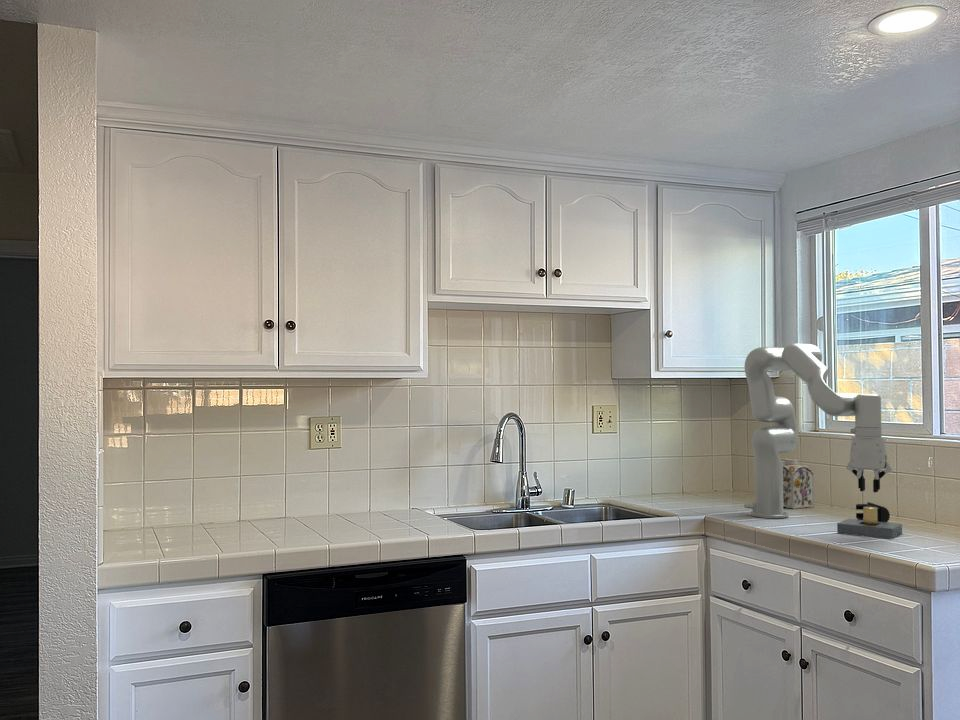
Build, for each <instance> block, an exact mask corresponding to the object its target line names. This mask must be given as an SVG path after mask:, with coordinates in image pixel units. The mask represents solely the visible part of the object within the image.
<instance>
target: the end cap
mask: <svg viewBox="0 0 960 720" xmlns="http://www.w3.org/2000/svg"><path fill="white" fill-rule="evenodd" d="M863 507H875V508H877V521H879V522H889V520H890V519H891V516H890V515H891V514H890V511H889V509H888V508H886V507H885V506H882V505H880V504H876V503H874V502H873V503H872V502H868V501H867V502H866V503H857V504H856V505H855V510H856V511H857V510H859V511H861V510H863ZM855 517H856V518H855V519H858V520H863V512H856V513H855Z"/></svg>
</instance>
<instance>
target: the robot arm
mask: <svg viewBox="0 0 960 720" xmlns="http://www.w3.org/2000/svg"><path fill="white" fill-rule="evenodd" d="M822 360H823V353H822V351H821V350H820V348H819V347H818V346H816V345H814V344H812V343H791V344H788V345H786V346H785V347H781V346H780V347H779V346H778V347H777V346H775V347H774V346H761V347H760V346H759V347H757V348H754V349H753V350H751V351H750V352H749V353H748V354H747V356H746V358H745V361H744V372H745V378H746V380H747V385H748V393H749V399H750V407H751V414H752V417H753V419H754V420H755V421H756V422H757V423H760V424H761V423H762V424H773V426H761V427H759V428H757V429H756V430H755V431H754V432H753V434H752V436H751V447H752V452H753V459H754V499H755V501H754V502H744V504H743V505H744V508H745V509H751V510H752V511H750V516H751V517H756V518H763V519H785V517H786V518H788V517H789V513H788V512H785V511H784V508H783V461H782V458H781V457H780V454H784V453H791V452H793V451H794V450H795V449H796V448H797V446H798V445H799V444H798V443H799V432H798V426H797V425H798V424H797V419H796V418H797V417H796V412H795V409H794V406H793V404H792V402H791V401H790V400H789V399H788V398H786V397H785V396H776V394H775V387H774V384H773V380H772V379H771V377H770V375H769V374H768V371H770V372H771V371H772V372H776V371H777V372H787V371H788V372H790V371H792V372H793V373H794V374H795V375H796V376H797V377H798V378H799V379H800V380H801V381H802V382H803V383H805V385H806V386H807V392H808V394H809V398H810V399H811V401H813V403H814V404H815V405H816V406H817V407H818V408H819V409H821V411H823V412H824V413H825V414H827V415H828V416H831V417H854V426H855V427H854V428H850V434H854V436H852V437H851V443H850V453H849V462H848V463H847V465H846V467H845V468H846V470H848V471H849V472H851V473H852V474H853V475H854V476H855V477H856V478H857V483H858V484H857V485H858V488H857V489H859V491H860V492H865V491H866V479H865V477H864V472H865V470H869V471H872V470H873V474H874V479H873V480H872V486H873V487H872V492H873V493H878V492H879V490H880V489H881V479H882V477H885V475H886V474H890V473H891V472H893V468H892V467H891V465H890V464H889V462H888V455H887V447H886V443H885V442H886V441H885V438H884V437H882V434H883V433H882V398H881V396H880V395H879V394H877V393H854V392H835V391H834V390H833V389H832V388H831V387H830V386H829V385H828V384H827V383H826V382H825V381H826V380H827V379H828V375H829V374H830V373H829V369H828V367H827V365H825V364H823V363H822ZM881 470H882V471H881Z"/></svg>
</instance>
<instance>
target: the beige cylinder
mask: <svg viewBox="0 0 960 720" xmlns="http://www.w3.org/2000/svg"><path fill="white" fill-rule="evenodd" d="M862 513H863V524H866V525H877V508H875V507H863V512H862Z"/></svg>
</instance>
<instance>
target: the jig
mask: <svg viewBox="0 0 960 720" xmlns="http://www.w3.org/2000/svg"><path fill="white" fill-rule="evenodd" d="M836 526H837V528H836V529H837V531H836V532H838V533H837V534H843V533H847V534H846V535H852V534H857V535H856V536H861V535H864V536H863V537H871V536H873V538H880V537H883V539H890V538H893V539H895V538H896V536H897V537H898V536H900V535H903V523H900V522H899V523H898V522H897V523H896V522H889V521H888V522H879V521H877V525H866V524H863V520H858V519H857V518H855V519H854V518H847V519H844V520H842V521H840V522H838V523H837V524H836ZM894 537H895V538H894Z"/></svg>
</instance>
